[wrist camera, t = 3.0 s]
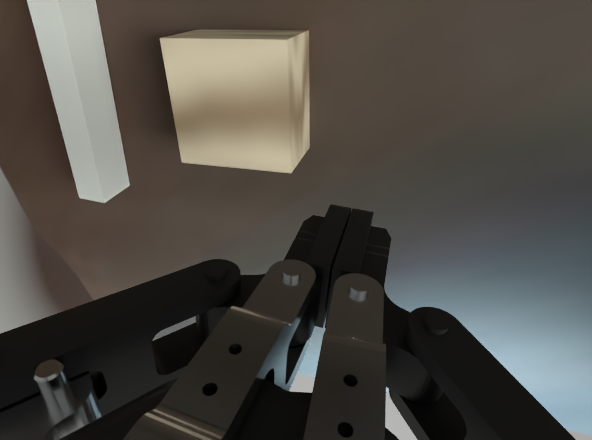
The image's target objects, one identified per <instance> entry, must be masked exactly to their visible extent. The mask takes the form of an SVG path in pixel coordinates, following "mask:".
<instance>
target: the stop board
mask: <svg viewBox="0 0 592 440" xmlns="http://www.w3.org/2000/svg"><path fill="white" fill-rule="evenodd" d="M27 2H28V6H29V10H30V14H31V17H32V21H33V25H34V29H35V32H36V36H37V40H38V44H39V48H40V51H41V55H42V59H43V63H44V66H45V70H46V74H47V78H48V81H49V85H50V89H51V93H52V97H53V100H54V104H55V108H56V112H57V115H58V119H59V123H60V127H61V131H62V134H63V138H64V142H65V146H66V149H67V153H68V157H69V161H70V164H71V168H72V172H73V176H74V180H75V183H76V187H77V191H78V195H79V198H82V199H87V200H92V201H97V202H101V203H105V202H107V201H108V200H110V199H111V198H113V197H114V196H115V195H117V194H118V193H120V192H121V191H123V190H124V189H125V188H127V187H128V186H130V183H129V178H128V173H127V167H126V162H125V156H124V151H123V146H122V140H121V135H120V130H119V124H118V119H117V113H116V108H115V103H114V97H113V92H112V86H111V81H110V76H109V70H108V65H107V60H106V54H105V49H104V43H103V38H102V33H101V27H100V22H99V17H98V11H97V6H96V0H27Z"/></svg>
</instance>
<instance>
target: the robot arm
mask: <svg viewBox="0 0 592 440" xmlns="http://www.w3.org/2000/svg"><path fill="white" fill-rule="evenodd" d="M372 219H373V212H370V211H365V210H359V209H354V208H353V209H352V212H351V208H348V207H342V206H337V205H332V204H331V205H330V207H329V209H328V211H327V213H326V216H325V217H320V216H315V215H313V216H311V217H310V218H308V219H307V220H305V221H304V222H303V224H302V226H301V228H300V230H299V232H298V234H297V236H296V238H295V239H294V241H293V243H292V245H291V247H290V249H289V251H288V253H287V255H286V257H285V259H284V260H282V261H279V262H277V263H275V264H273V265H272V266H271V267H270V268H269V270H268V271H267V273H266V274H262V275H240V269H239V267H238V266H237V265H236V264H234V263H233V262H231V261H228V260H223V259H213V260H208V261H205V262H202V263H199V264H196V265H193V266H191V267H188V268H185V269H182V270H179V271H176V272H174V273H171V274H168V275H165V276H162V277H159V278H157V279H154V280H151V281H148V282H145V283H142V284H140V285H137V286H134V287H131V288H128V289H125V290H123V291H120V292H117V293H114V294H111V295H108V296H106V297H103V298H100V299H97V300H94V301H92V302H89V303H86V304H83V305H80V306H77V307H75V308H72V309H69V310H66V311H63V312H60V313H58V314H55V315H52V316H49V317H46V318H43V319H41V320H38V321H35V322H32V323H29V324H27V325H24V326H21V327H18V328H15V329H12V330H10V331H7V332H4V333H1V334H0V440H399V439H397V437H396V436H395V435H394V434H392V433H391V432H390V431H389V430H388V429H386V428H385V396H386V395H385V394H386V387H388V388H389V394H390V397H391V399H392V401H393V403H394V404H395V406H396V407H397V409H398V411H399V412H400V413H401V415H402V417H403V418H404V420H405V421H406V423H407V424H408V426H409V427H410V429H411V430H412V432H413V433H414V435H415V436H416V438H417V439H418V440H575V439H574V437H573V436H572V435H571V434H570V433H569V432H568V431H567V430H566V429H565V428H564V427H563V426H562V425H561V424H560V423H559V422H558V421H557V420H556V419H555V418H554V417H553V416H552V415H551V414H550V413H549V412H548V411H547V410H546V409H545V408H544V407H543V406H542V405H541V404H540V403H539V402H538V401H537V400H536V399H535V398H534V397H533V396H532V395H531V394H530V393H529V392H528V391H527V390H526V389H525V388H524V387H523V386H522V385H521V384H520V383H519V382H518V381H517V380H516V379H515V378H514V377H513V376H512V375H511V374H510V373H509V372H508V371H507V370H506V369H505V368H504V367H503V365H502V364H501V363H500V362H499V361H498V360H497V359H496V358H495V357H494V356H493V355H492V354H491V353H490V352H489V351H488V350H487V349H486V348H485V347H484V346H483V345H482V344H481V343H480V342H479V341H478V340H477V339H476V338H475V337H474V336H473V335H472V334H471V333H470V332H469V331H468V330H467V329H466V328H465V327H464V326H463V325H462V324H461V323H460V322H459V321H458V320H457V319H456V318H455V317H454V316H452V315H451V314H449V313H448V312H446V311H443V310H441V309H438V308H433V307H421V308H417V309H415V310H413V311H412V312H411V313H410V312H408V311H406V310H404V309H402V308H400V307H398V306H397V305H396V304H394V303H393V302H392V301H391V300H390V299H389V298H388V297H387V295H386V293H385V290H384V283H385V276H386V269H387V263H388V256H389V249H390V242H391V237H390V235H389V234H388V232H387V230H386V229H384V228H378V227H373V226H371V224H372ZM194 316H196V323H193V324H191V325H189V326H186V327H184V328H182V329H180V330H177V331H175V332H173V333H170V334H168V335H166V336H163V337H161V338H159V339H156V340H154V341H152V340H153V338H154V336H155V335H156V334H157V333H158V332H160V331H161V330H163V329H165V328H168V327H170V326H173V325H175V324H177V323H180V322H182V321H184V320H187V319H189V318H191V317H194ZM325 319H326V323H325V328H326V330H325V332H324V335H323V340H322V346H321V351H320V356H319V361H318V366H317V371H316V377H315V382H314V387H313V392H312V393H304V392H290V391H289V390H290V387H291V385H292V383H293V380H294V378H295V376H296V374H297V371H298V369H299V367H300V364H301V362H302V360H303V358H304V355H305V353H306V351H307V348H308V346H309V339H310V337H311V335H312V332H313V329H314V326H318V327H322V328H323V325H324V322H325Z"/></svg>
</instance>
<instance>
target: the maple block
mask: <svg viewBox="0 0 592 440" xmlns="http://www.w3.org/2000/svg"><path fill="white" fill-rule="evenodd" d="M160 43H161V48H162V54H163V60H164V65H165V71H166V76H167V82H168V88H169V93H170V99H171V104H172V110H173V116H174V121H175V127H176V132H177V138H178V144H179V149H180V155H181V160H182V163H192V164H202V165H212V166H223V167H233V168H243V169H253V170H263V171H274V172H284V173H292V171H293V170H294V169H295V167H296V166H297V164H298V163H299V162H300V160H301V159H302V157H303V156H304V155H305V153H306V152H307V150H308V149H309V148H310V141H309V30H193V31H189V32H185V33H180V34H176V35H171V36H167V37H162V38H160Z"/></svg>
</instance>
